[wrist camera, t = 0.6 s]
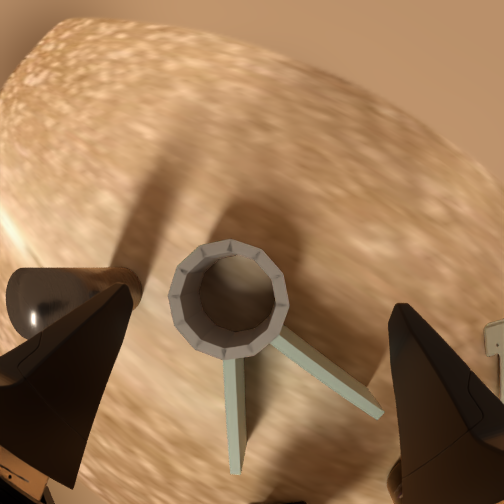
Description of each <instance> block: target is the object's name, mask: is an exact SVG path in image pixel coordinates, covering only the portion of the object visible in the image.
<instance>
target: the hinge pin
mask: <svg viewBox="0 0 504 504" xmlns="http://www.w3.org/2000/svg"><path fill="white" fill-rule="evenodd" d="M117 282H119V283H126V284H127V285H128V287H129V290H130V293H131V296H132V299H133V309H132V310H134V309H135V308H136V307H137V306H138V304H139V302H140V300H141V296H142V287H141V283H140V281H139V279H138V277H137V276H136V274H135V273H134V272H133V271H131V270H129V269H127V268H123V267H115V268H20V269H17V270H16V271H15V272H14V273H13V274H12V275H11V277H10V279H9V282H8V285H7V289H6V306H7V311H8V315H9V318H10V321H11V323H12V325H13V326H14V328H15V329H16V331H17V332H18V333H19V334H20V335H21V336H22V337H24V338H25V339H28V340H29V339H30V338H32V337H33V336H35V335H36V334H38V333H39V332H40V331H43V330H44V329H45V328H46V327H48V326H49V325H51V324H52V323H54V322H55V321H57V320H58V319H60V318H61V317H63V316H65V315H66V314H68V313H69V312H71V311H72V310H74V309H75V308H77V307H78V306H80V305H81V304H83V303H85V302H86V301H88V300H89V299H91V298H92V297H94V296H95V295H97V294H99V293H100V292H102V291H103V290H105V289H106V288H108V287H110V286H111V285H113V284H114V283H117Z"/></svg>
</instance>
